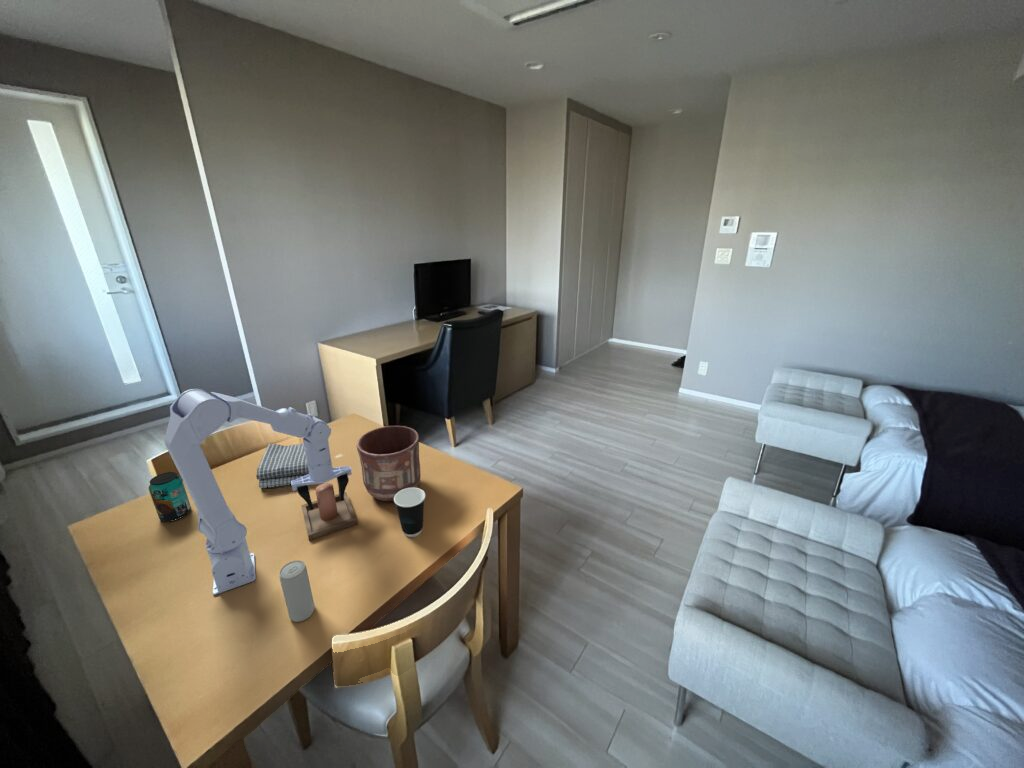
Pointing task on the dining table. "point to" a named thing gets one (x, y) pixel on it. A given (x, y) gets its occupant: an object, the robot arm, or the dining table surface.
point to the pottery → (389, 461)
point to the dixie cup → (410, 510)
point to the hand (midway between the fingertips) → (326, 503)
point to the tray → (321, 527)
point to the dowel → (326, 501)
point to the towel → (282, 465)
